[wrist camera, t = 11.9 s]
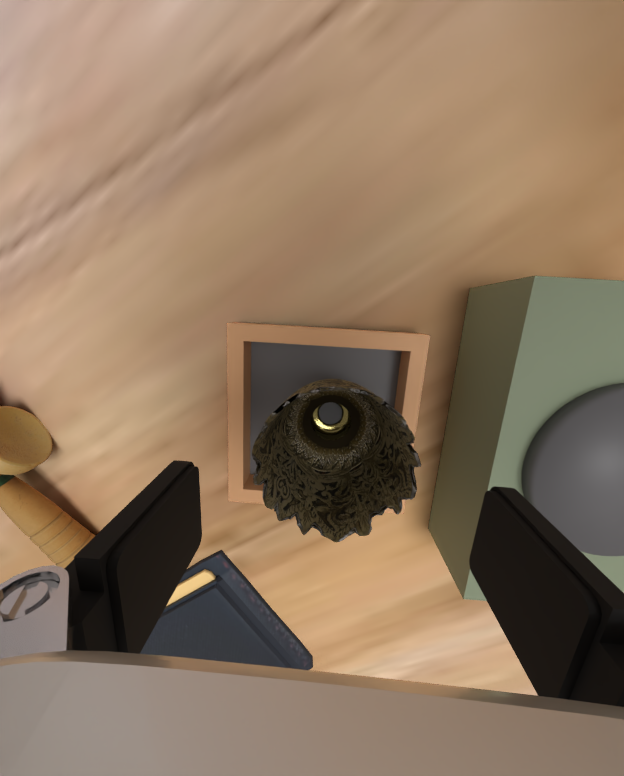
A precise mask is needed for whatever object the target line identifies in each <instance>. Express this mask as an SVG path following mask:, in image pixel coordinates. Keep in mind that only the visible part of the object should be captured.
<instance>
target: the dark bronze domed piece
mask: <svg viewBox="0 0 624 776" xmlns="http://www.w3.org/2000/svg"><path fill="white" fill-rule="evenodd" d="M329 402H333V403H336V404H338V405H339V406H340V407H341V409H342V417H341V419H340V420H339V421H338V422H337V423H335V424H326V423H324V422H323V421H322V420H321V419H320V417H319V410H320V408H321V406H322V405H323V404H325V403H329ZM406 423H407V422H406V420H405V419H404V417H403V416H402V415H401V414H400V413H399V412H398V411H397V410H395V409H394V408H393V407H392V406H390V405H389V404H388V403H386V402H385V401H384V399H382V398H381V397H379V396H377V395H375V394H374V393H372V392H371V391H369V390H368V389H366V388H364V387H362V386H360V385H358V384H356V383H353V382H350V381H346V380H341V379H324V380H319V381H315V382H312V383H310V384H307V385H305V386H303V387H302V388H300V389H298V390H297V391H296V392H294V393H293V394H292V395H291V396H290V397H289V398H288V399H286V400H285V401H284V402H283V403H282V404H281V405H280V406H279V407H278V408H277V409H276V410H275V411H273V412H272V413H271V414H270V416H269V417H268V418H267V420H266V421H265V423H264V426H263V428H262V430H261V431H260V433H259V434H258V436H257V438H256V440H255V443H254V445H253V449H252V458H253V460H254V461H255V463H256V465H257V467H256V470H255V472H254V476H253V483H254V485H261V484H263V483H264V485H263V501H264V504H265V506H266V507H267V508H269V509H274V511H276V514H277V518H278V520H279V521H283V520H286V519H291V518H293V517H294V516H296V520H297V525H298V526H299V528H300V530H301V532H302V534H303V535H305V534H306V533H307V532H308V531H309V530H310V529H311V528H312V527H313V528H315V529H317V530H319V531H320V533H321V535H322V536H324V537H327V538H329V539H331V540H332V541H334V542H340V541H342V540H344V539H345V538H346V537H347V536H349V535H351V534H353V533H357V534H358V535H359V536H366V535H369V533H370V532H371V530H372V527H371V520H372V517H374V516H376V515H382V514H383V513H384V511H385V510H386V509H387V508H389V509H393V510H394V512H395V513H396V514H399V513H400V512H401V511H402V500H408V499H413V498H414V497H415V494H416V490H417V487H416V479H415V475H414V467H418V466H420V467H421V463H420V459H419V456H418V453H417V452H416V451H415V450H414V448H413V447H412V445H411V444H412V443H414V440H415V437H414V434H413V433H412V431H411V430H410V429H409V427H408V424H406Z"/></svg>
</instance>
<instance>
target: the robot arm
mask: <svg viewBox="0 0 624 776" xmlns="http://www.w3.org/2000/svg"><path fill="white" fill-rule="evenodd" d="M201 537H202V528H201V507H200V486H199V469H198V467H194V464H193V463H192V462H187V461H173V462H172V463H171V464H169V465H168V466H167V467H166V468H165V469H164V470H163V471H162V472H161V473H160V474H159V475H158V476H157V477H156V478H155V479H154V480H153V481H152V482H151V483H150V484H149V485H148V486H147V487H146V488H145V489H144V490H143V491H141V492H140V493H139V494H138V495H137V496H136V497H135V498H134V499H133V500H132V501H131V502H130V503H129V504H128V505H127V506H126V507H125V508H124V509H123V510H122V511H121V512H120V513H119V514H118V515H117V516H116V517H115V518H113V519H112V520H111V521H110V522H109V523H108V524H107V525H106V526H105V527H104V528H103V529H102V530H101V531H100V532H99V533H98V534H97V535H96V536H95V537H94V538H93V539H92V540H91V541H90V542H89V543H88V544H87V545H86V546H84V547H83V548H82V549H81V550H80V551H79V552H78V553H77V554H76V555H75V556H74V560H73V561H72V562H71V563H70V564H68V565H67V566H66V567H65V568H62V567H59V566H42V567H38V568H35V569H31V570H28V571H25V572H23V573H21V574H18V575H16V576H14V577H12V578H10V579H9V580H7V581H5V582H4V583H2V584H0V776H624V593H623V592H622V591H621V590H620V589H619V588H618V587H617V586H616V585H615V584H614V583H613V582H612V581H611V580H610V579H609V578H608V577H606V576H605V575H604V574H603V573H602V572H601V571H600V570H599V569H598V568H597V567H596V566H595V565H594V564H593V563H592V562H591V561H590V560H589V559H588V558H587V557H586V556H585V555H584V554H583V553H582V552H580V551H579V550H578V549H577V548H576V547H575V546H574V545H573V544H572V543H571V542H570V541H569V540H568V539H567V538H566V537H565V536H564V535H563V534H562V533H561V532H560V531H559V530H558V529H557V528H556V527H554V526H553V525H552V524H551V523H550V522H549V521H548V520H547V519H546V518H545V517H544V516H543V515H542V514H541V513H540V512H539V511H538V510H537V509H536V508H535V507H534V506H533V505H532V504H531V503H530V502H529V501H527V500H526V499H525V498H524V497H523V496H522V495H521V494H520V493H519V492H518V491H517V490H516V489H514V488H509V487H496V486H494V487H492V488H491V489H490V491H486V492H485V495H484V499H483V503H482V507H481V512H480V516H479V520H478V524H477V528H476V533H475V537H474V541H473V545H472V550H471V554H470V558H469V565H470V570H471V572H472V574H473V576H474V578H475V580H476V582H477V583H478V585H479V587H480V589H481V591H482V593H483V594H484V596H485V598H486V600H487V602H488V604H489V606H490V607H491V609H492V611H493V613H494V615H495V617H496V618H497V620H498V622H499V624H500V626H501V628H502V630H503V631H504V633H505V635H506V637H507V639H508V641H509V642H510V644H511V646H512V648H513V650H514V652H515V654H516V655H517V657H518V659H519V661H520V663H521V665H522V666H523V668H524V670H525V672H526V674H527V676H528V678H529V679H530V681H531V683H532V685H533V687H534V689H535V690H536V692H537V694H538V696H534V695H526V694H517V693H508V692H500V691H491V690H482V689H474V688H465V687H456V686H448V685H439V684H430V683H421V682H412V681H403V680H394V679H384V678H375V677H366V676H357V675H348V674H338V673H329V672H320V671H310V670H301V669H292V668H282V667H272V666H262V665H252V664H243V663H233V662H223V661H213V660H203V659H193V658H184V657H172V656H160V655H148V654H140V653H141V651H142V649H143V647H144V645H145V643H146V642H147V640H148V638H149V636H150V634H151V633H152V631H153V629H154V627H155V625H156V624H157V622H158V620H159V618H160V616H161V614H162V613H163V611H164V609H165V607H166V605H167V604H168V602H169V600H170V598H171V596H172V595H173V593H174V591H175V589H176V587H177V585H178V584H179V582H180V580H181V578H182V576H183V575H184V573H185V571H186V569H187V567H188V566H189V564H190V562H191V560H192V558H193V557H194V555H195V553H196V551H197V549H198V547H199V545H200V542H201Z"/></svg>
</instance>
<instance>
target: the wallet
mask: <svg viewBox="0 0 624 776" xmlns="http://www.w3.org/2000/svg"><path fill="white" fill-rule="evenodd" d="M140 654H148V655H160V656H172V657H184V658H193V659H203V660H213V661H223V662H233V663H243V664H252V665H262V666H272V667H282V668H292V669H301V670H309V669H311V668H312V667H313V658H312V655H311V654H310V653H309V651H308V650H307V649H306V648H305V646H304V645H303V644H302V642H301V641H300V640H299V639H298V638H297V637H296V636H295V635H294V633H293V632H292V631H291V630H290V629H289V628H288V627H287V625H286V624H285V623H284V622H283V621H282V620H281V619H280V618H279V616H278V615H277V614H276V613H275V612H274V611H273V610H272V608H271V607H270V606H269V605H268V604H267V603H266V601H265V600H264V599H263V598H262V597H261V595H260V594H259V593H258V592H257V591H256V589H255V588H254V587H253V586H252V585H251V583H250V582H249V581H248V580H247V579H246V577H245V576H244V575H243V574H242V573H241V572H240V571H239V569H238V568H237V567H236V566H235V565H234V564H233V563H232V562H231V560H230V559H229V558H228V557H227V556H226V555H225V553H224V552H223V551H222V550H220V551H218V552H216V553H215V554H213V555H211V556H209V557H207V558H205V559H203V560H201V561H199V562H198V563H196V564H195V565H193V566H191V567H190V568H188V569H187V570H186V571H185V573H184V575H183V576H182V578H181V580H180V582H179V584H178V585H177V587H176V589H175V591H174V593H173V595H172V596H171V598H170V600H169V602H168V604H167V605H166V607H165V609H164V611H163V613H162V614H161V616H160V618H159V620H158V622H157V624H156V625H155V627H154V629H153V631H152V633H151V634H150V636H149V638H148V640H147V642H146V643H145V645H144V647H143V649H142V651H141V653H140Z"/></svg>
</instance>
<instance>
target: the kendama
mask: <svg viewBox="0 0 624 776" xmlns="http://www.w3.org/2000/svg"><path fill="white" fill-rule="evenodd" d="M52 446H53V445H52V438H51V436H50V434H49V432H48V430H47V429H46V428H45V427H44V426H43V424H42V423H41V421H40V420H39V419H38V418H37V417H36V416H34V415H33V414H31V413H29V412H27V411H25V410H23V409H20V408H16V407H11V406H0V507H1V508H2V510H3V511H4V512H5V513H6V514H7V516H8V517H9V518H10V519H11V520H12V521H13V522H14V523H15V524H16V525H17V526H18V527H19V529H20V530H21V531H22V532H23V533H24V534H25V535H27V536H28V537H30V540H31V541H32V542H33V543H35V544H36V545H37V546H39V548H40V549H41V551H42V552H43V553H45V554H46V555H47V557H48V558H49V559H50V560H51V561H52V562H53V563H56V566H59V567H62V568H65V567H66V566H67V565H68V564H70V563H71V562H72V561H73V560H74V556H75V555H76V554H77V553H78V552H79V551H80V550H81V549H82V548H83V547H84V546H86V545H87V544H88V543H89V542H90V541H91V540H92V539H93V538H94V537H95V535H94V534H93V533H90V531H89V530H87V529H86V528H85V527H83V526H81V524H80V523H78V522H77V521H76V520H75V519H72V517H71V516H70V515H68V514H67V513H66V512H65V511H62V509H61V508H60V507H58V506H57V505H56V504H55V503H54V502H52V501H51V500H50V499H48V498H47V497H46V496H44V495H43V494H41V493H40V492H39V491H37V490H36V489H34V488H33V487H31V486H30V485H28V484H27V483H25V482H24V481H22V480H20V479H19V478H17V477H16V476H14V475H18V474H22V473H25V472H28V471H30V470H31V469H33V468H35V467H36V466H38V465H39V464H41V463H43V462H44V461H45V460H46V459H47V458H48V457H49V455H50V454H51V452H52Z"/></svg>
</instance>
